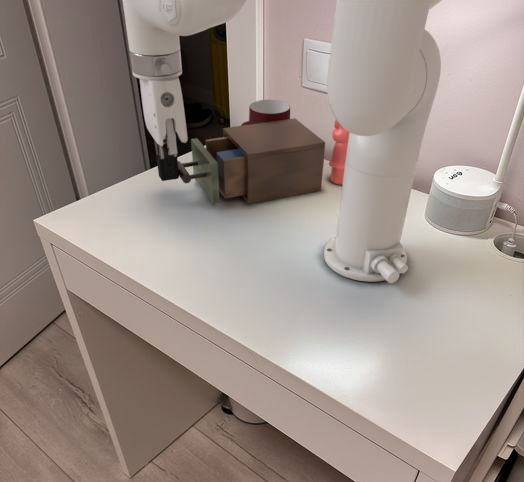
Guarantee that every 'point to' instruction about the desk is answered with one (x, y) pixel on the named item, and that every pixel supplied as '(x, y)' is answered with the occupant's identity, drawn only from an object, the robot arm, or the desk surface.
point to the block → (226, 155)
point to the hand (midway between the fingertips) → (169, 177)
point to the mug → (267, 111)
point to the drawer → (216, 169)
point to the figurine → (339, 153)
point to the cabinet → (279, 159)
